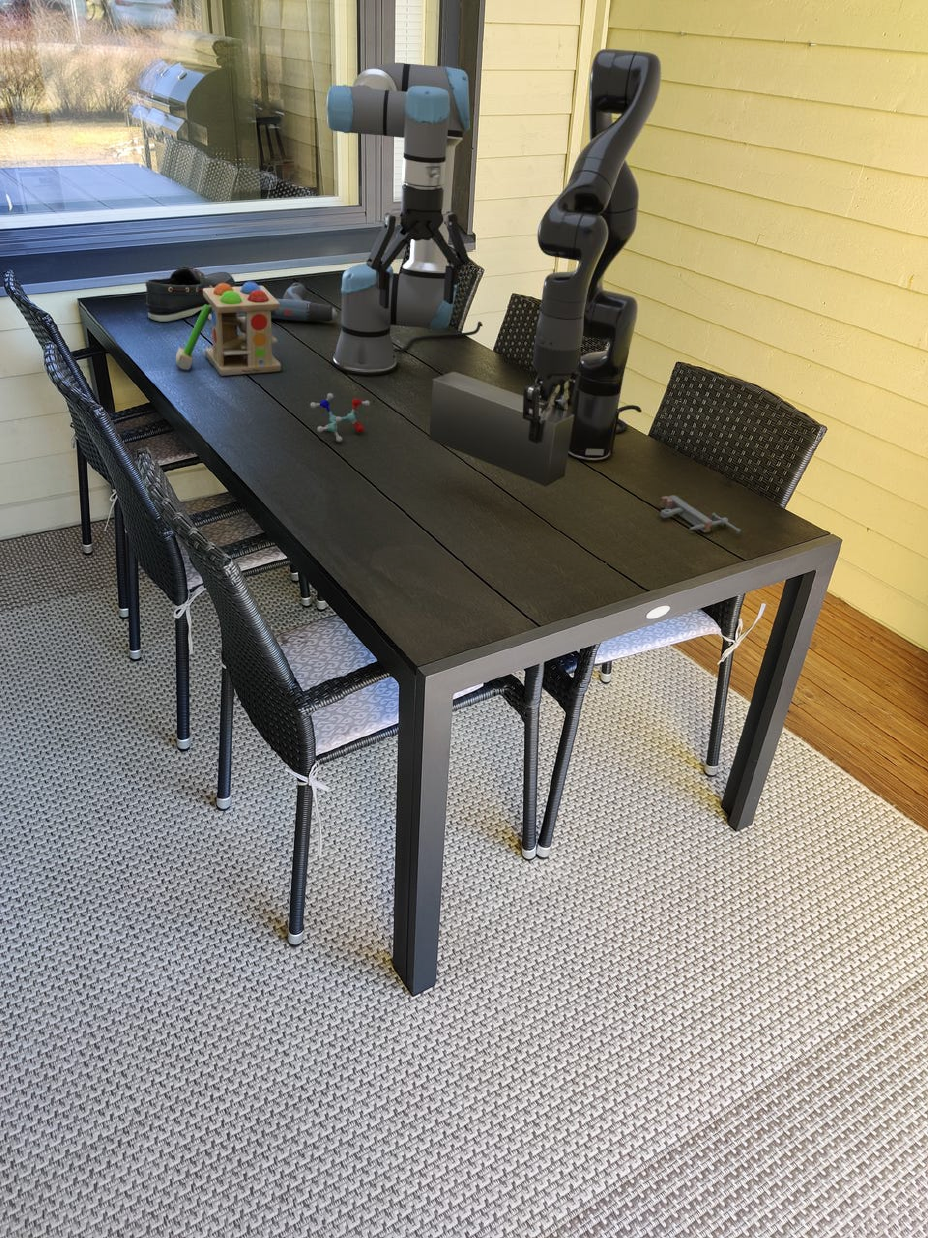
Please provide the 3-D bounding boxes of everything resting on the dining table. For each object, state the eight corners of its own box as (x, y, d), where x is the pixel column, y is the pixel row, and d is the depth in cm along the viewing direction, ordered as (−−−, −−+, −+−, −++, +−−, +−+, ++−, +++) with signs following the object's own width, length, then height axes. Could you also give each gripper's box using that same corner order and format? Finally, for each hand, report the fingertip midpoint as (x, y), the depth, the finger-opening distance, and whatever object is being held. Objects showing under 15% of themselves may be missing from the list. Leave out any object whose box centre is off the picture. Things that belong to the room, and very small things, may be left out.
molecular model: (357, 434, 195) (340, 385, 194) (317, 449, 199) (300, 401, 197) (380, 430, 206) (364, 384, 204) (342, 444, 209) (326, 399, 208)
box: (429, 439, 182) (433, 378, 175) (449, 430, 186) (453, 371, 179) (546, 486, 169) (555, 423, 163) (564, 476, 173) (574, 414, 167)
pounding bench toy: (183, 379, 220) (176, 299, 210) (169, 357, 231) (162, 280, 221) (282, 371, 230) (280, 294, 220) (264, 350, 240) (262, 276, 230)
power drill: (344, 304, 276) (335, 327, 259) (277, 298, 275) (264, 321, 258) (344, 285, 273) (335, 306, 256) (277, 279, 272) (264, 300, 255)
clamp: (649, 498, 185) (689, 490, 190) (647, 509, 187) (687, 500, 191) (702, 536, 175) (743, 526, 179) (699, 546, 176) (740, 536, 181)
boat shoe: (254, 300, 273) (252, 262, 268) (165, 323, 249) (160, 282, 244) (221, 292, 279) (218, 254, 273) (130, 314, 255) (125, 273, 250)
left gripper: (366, 190, 167) (363, 314, 179) (493, 188, 178) (482, 305, 190) (350, 181, 173) (348, 302, 185) (474, 179, 183) (464, 294, 195)
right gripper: (553, 356, 153) (539, 455, 162) (600, 337, 163) (585, 431, 172) (514, 343, 156) (503, 441, 166) (562, 325, 166) (549, 418, 176)
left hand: (416, 304), depth 187 cm, fingers open, 13 cm apart
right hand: (545, 436), depth 169 cm, fingers closed on box, 6 cm apart
